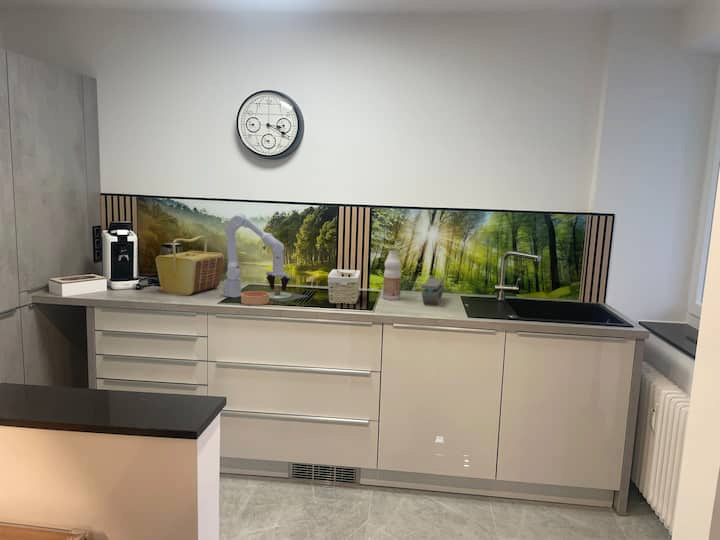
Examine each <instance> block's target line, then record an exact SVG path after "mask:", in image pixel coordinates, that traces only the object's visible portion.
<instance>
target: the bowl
mask: <svg viewBox="0 0 720 540" xmlns="http://www.w3.org/2000/svg"><path fill="white" fill-rule="evenodd" d="M240 297H241V298H240V299H241V300H240V302H241V304H243V305H245V306H263V305H268V304H270V300H269V292H268V291H262V290H257V291H255V290H249V291H243V292H241V296H240Z"/></svg>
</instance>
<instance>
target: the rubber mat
mask: <svg viewBox="0 0 720 540" xmlns="http://www.w3.org/2000/svg"><path fill="white" fill-rule="evenodd" d="M271 292H272V291H270V292H268V293H271ZM280 292H285V293H290V294H291V297H289V298H284V299H270V298H269V301H273V302H278V303H282V304H283V303H288V302H292V301H297V300H301V299H306V298H308V297H309V295H304V294H300V293H293V292H288V291H282V290H280Z"/></svg>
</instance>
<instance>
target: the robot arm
mask: <svg viewBox="0 0 720 540" xmlns="http://www.w3.org/2000/svg"><path fill="white" fill-rule="evenodd" d="M240 227H243V228H248V229H250V231H252V232H254V233H255V234H256V235H258V236H259V237H260V240H261V241H260V242H262V243H263V244H265V246H267V247H268V248H269V249H271V250H272V253H273V254H272V271H266V272H265V273H266V275H265V276H266V279H267V281H268V283H269V287H270V290H274V286H275V281H276V277H279V278H280V282H281V291H283V292H286V289H287V285H288V283H289V282H290V280H291V279H290V278H291V274H290V273H286V272H284V266H285V265H284V264H285V263H284V259H285V258H284V250H285V245H284V244H283V242H281V241H280V240H279V239H277V238H275V236H273V233H272V232H271V233H269V232H265V231H264V230H262V228H260V227H259V226H258V225H257V224H256V223H255V222H254V221H253V220H252V219H250V218H249V217H248V216H246V215H245V214H243V213H237V214H235V215H233V216H232V217H231V218H230V219H229V221H228V223H227V226H226V227H225V230H224V231H225V242H226V251H227V260H228V261H227V262H228V263H227V271H226V278H225V279H224V280H223V282H222V294H221V296H224V297H229V298H239V297H241V293H242V280H241V279H242V278H241V277H240V276H241V275H242V269H241V267H240V262H239V260H238V249H237V240H236V239H237V238H236V232H237V231H238V230H239V229H240Z"/></svg>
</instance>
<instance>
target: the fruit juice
mask: <svg viewBox="0 0 720 540" xmlns="http://www.w3.org/2000/svg"><path fill="white" fill-rule="evenodd" d="M398 251H399V248H398V247H388V255H387V257H386V260H385V261H384V271H383V288H382V289H383V290H382V293H383V294H382V298H383V299H384V300H388V301H397V300H400V299H401V287H402V286H401V285H402V283H401V282H402V271H401V267H402V262H401V259H400V257H399V253H398Z"/></svg>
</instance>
